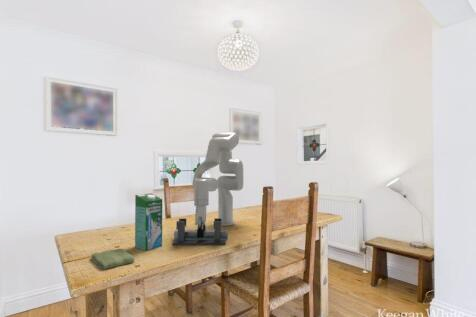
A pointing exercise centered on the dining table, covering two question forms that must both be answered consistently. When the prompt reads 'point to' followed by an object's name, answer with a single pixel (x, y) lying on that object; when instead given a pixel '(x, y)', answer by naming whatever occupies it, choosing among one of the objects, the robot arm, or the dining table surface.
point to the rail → (206, 234)
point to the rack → (181, 240)
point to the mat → (204, 239)
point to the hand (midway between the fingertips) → (201, 234)
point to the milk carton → (148, 221)
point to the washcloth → (112, 258)
